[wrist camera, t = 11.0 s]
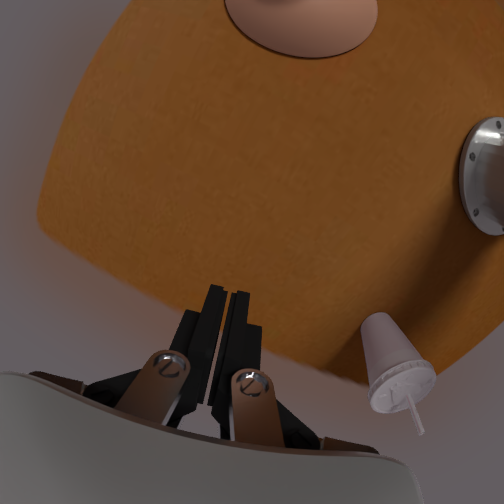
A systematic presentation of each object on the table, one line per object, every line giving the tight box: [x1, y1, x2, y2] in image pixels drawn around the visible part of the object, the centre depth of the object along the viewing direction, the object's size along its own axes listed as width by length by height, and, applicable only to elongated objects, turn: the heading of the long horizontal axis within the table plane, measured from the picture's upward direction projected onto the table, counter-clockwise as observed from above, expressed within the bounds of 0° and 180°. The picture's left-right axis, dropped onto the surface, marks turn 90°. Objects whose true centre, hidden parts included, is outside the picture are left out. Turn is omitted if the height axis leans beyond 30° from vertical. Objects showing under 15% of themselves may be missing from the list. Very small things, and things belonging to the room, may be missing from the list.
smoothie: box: [360, 312, 436, 435], centre depth 22 cm, size 6×6×14 cm
